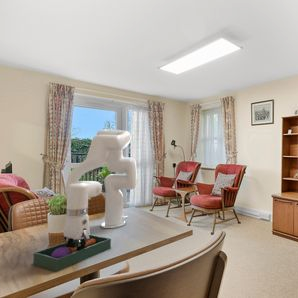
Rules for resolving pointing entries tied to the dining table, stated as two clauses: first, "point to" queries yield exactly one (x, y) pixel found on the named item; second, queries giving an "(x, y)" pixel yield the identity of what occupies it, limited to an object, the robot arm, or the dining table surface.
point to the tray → (56, 264)
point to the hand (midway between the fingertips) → (75, 252)
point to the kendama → (70, 249)
